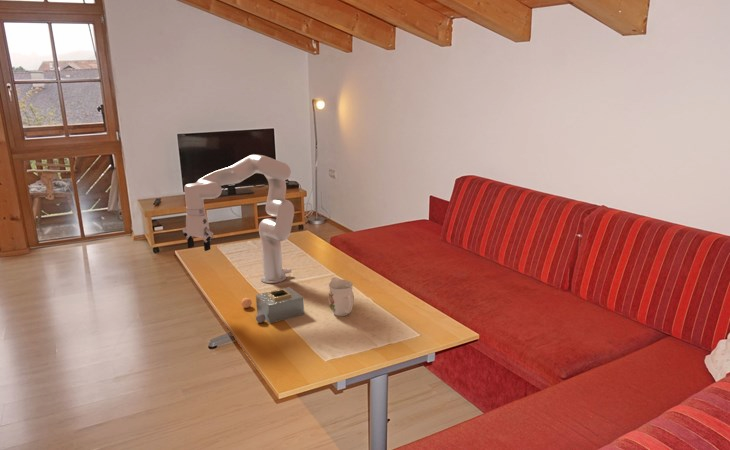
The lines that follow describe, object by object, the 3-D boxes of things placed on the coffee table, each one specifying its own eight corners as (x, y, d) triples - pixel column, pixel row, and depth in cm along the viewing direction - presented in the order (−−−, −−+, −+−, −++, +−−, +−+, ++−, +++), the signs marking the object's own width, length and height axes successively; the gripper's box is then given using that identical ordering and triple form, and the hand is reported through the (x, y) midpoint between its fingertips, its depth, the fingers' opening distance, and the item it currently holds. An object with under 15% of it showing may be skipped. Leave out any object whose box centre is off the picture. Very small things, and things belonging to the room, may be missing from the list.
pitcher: (339, 324, 225) (338, 293, 221) (322, 308, 240) (321, 279, 236) (363, 319, 229) (362, 288, 226) (345, 303, 245) (344, 275, 241)
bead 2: (264, 317, 230) (261, 310, 229) (268, 320, 227) (264, 313, 225) (256, 322, 229) (252, 315, 227) (260, 326, 225) (256, 318, 224)
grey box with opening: (290, 303, 246) (289, 284, 244) (304, 314, 235) (303, 294, 232) (257, 311, 238) (255, 292, 235) (269, 323, 227) (268, 303, 224)
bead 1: (249, 304, 246) (249, 295, 244) (253, 307, 242) (252, 298, 241) (240, 306, 243) (239, 297, 242) (243, 310, 240) (243, 300, 238)
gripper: (216, 211, 237) (219, 248, 242) (187, 207, 245) (190, 244, 249) (204, 215, 231) (208, 253, 235) (174, 211, 238) (178, 248, 243)
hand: (199, 248), depth 242 cm, fingers open, 9 cm apart
